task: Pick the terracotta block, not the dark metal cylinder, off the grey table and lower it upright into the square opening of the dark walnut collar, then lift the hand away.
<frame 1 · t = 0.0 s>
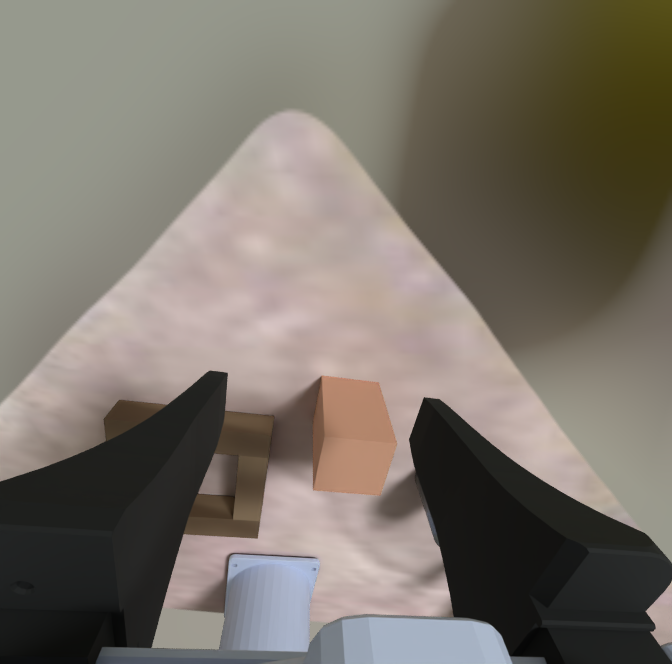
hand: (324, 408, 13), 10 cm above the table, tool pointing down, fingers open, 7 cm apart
terracotta block: (345, 402, 25), on the table
walnut collar: (197, 463, 27), on the table
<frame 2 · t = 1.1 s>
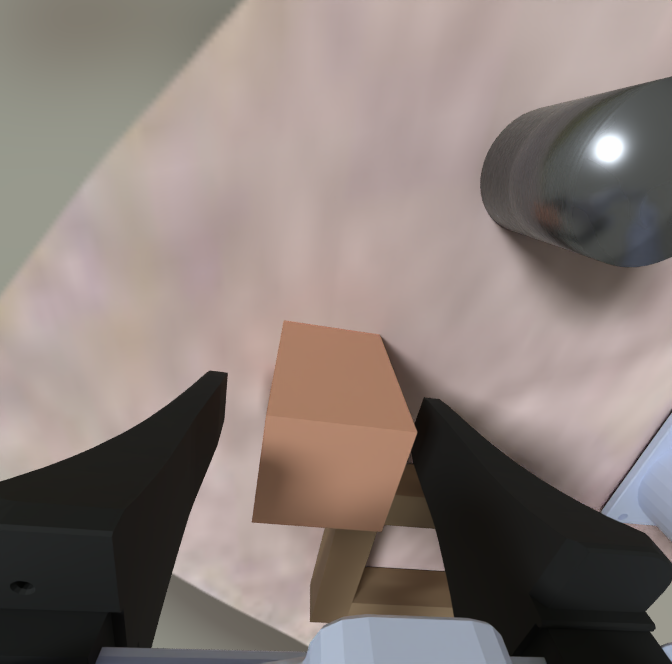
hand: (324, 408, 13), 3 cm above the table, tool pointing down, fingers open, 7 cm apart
metal cylinder: (536, 173, 13), on the table
terracotta block: (324, 368, 15), on the table
walnut collar: (414, 534, 20), on the table
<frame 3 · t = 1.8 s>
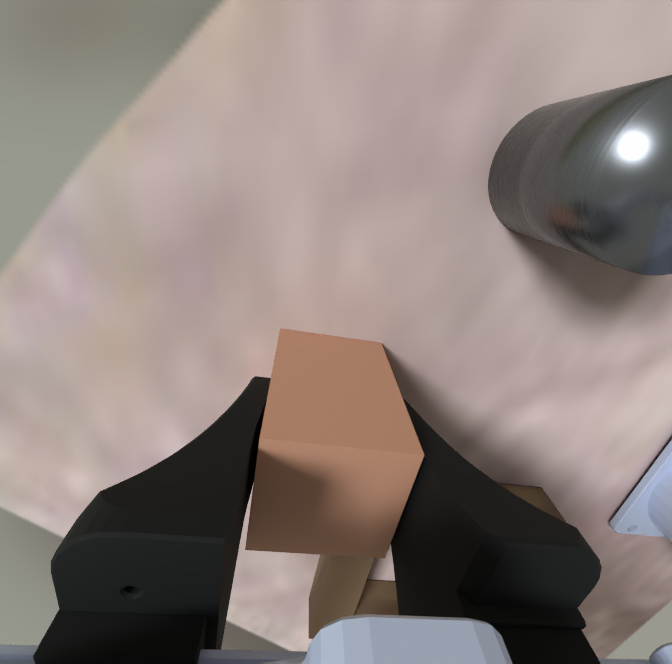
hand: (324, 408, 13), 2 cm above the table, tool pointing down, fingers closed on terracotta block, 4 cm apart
metal cylinder: (548, 173, 12), on the table
terracotta block: (323, 379, 15), on the table, touching gripper
walnut collar: (416, 546, 20), on the table
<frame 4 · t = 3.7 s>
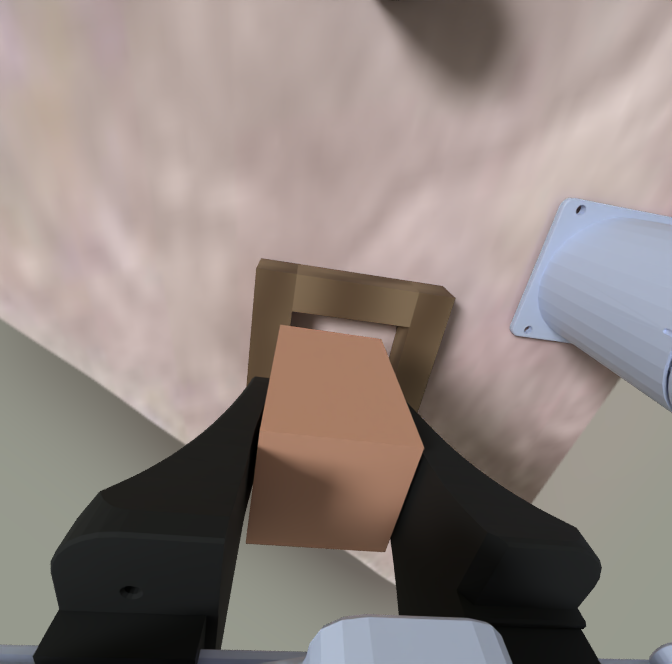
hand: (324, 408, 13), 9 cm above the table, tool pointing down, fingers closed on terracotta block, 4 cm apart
terracotta block: (323, 375, 15), point 7 cm above the table, touching gripper
walnut collar: (338, 353, 22), on the table
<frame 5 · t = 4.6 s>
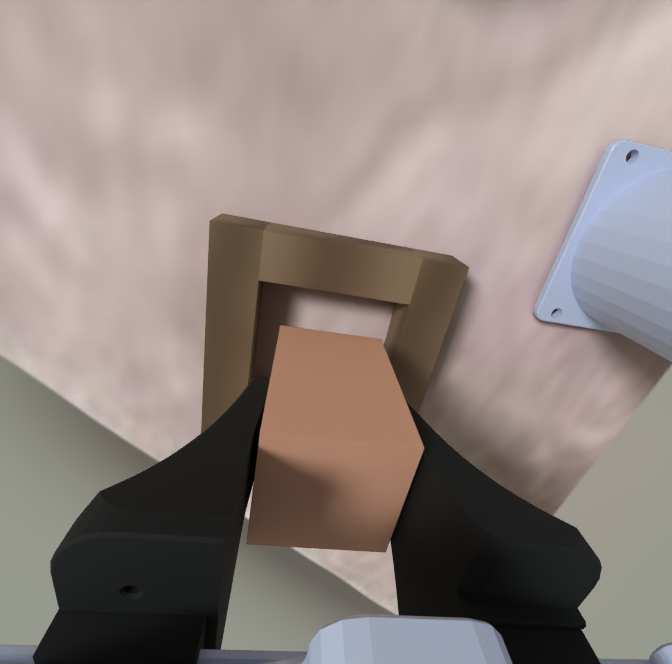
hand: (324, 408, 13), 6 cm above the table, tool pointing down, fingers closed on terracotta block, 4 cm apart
terracotta block: (323, 375, 15), point 4 cm above the table, touching gripper
walnut collar: (322, 339, 18), on the table
when the fingers open (3 cm above the table, at t = 5.5 s): terracotta block stays where it is, resting in walnut collar.
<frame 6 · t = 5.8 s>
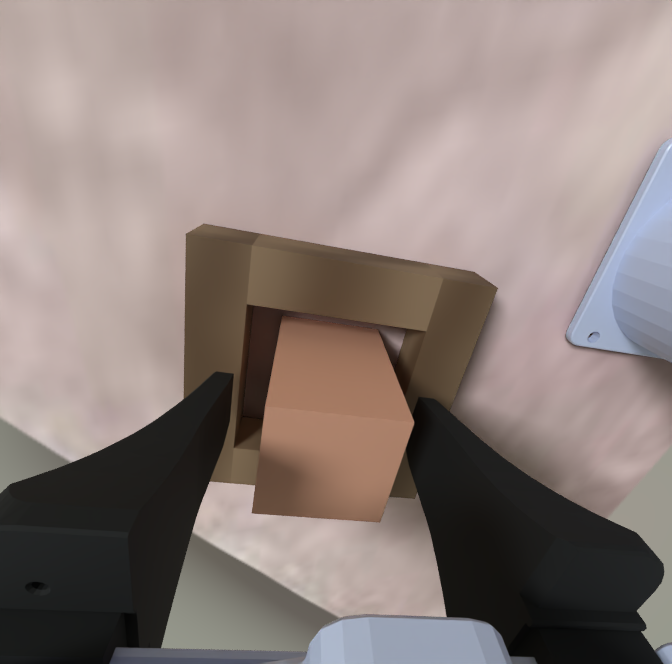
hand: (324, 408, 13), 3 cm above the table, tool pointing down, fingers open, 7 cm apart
terracotta block: (322, 363, 16), resting in walnut collar
walnut collar: (322, 366, 16), on the table
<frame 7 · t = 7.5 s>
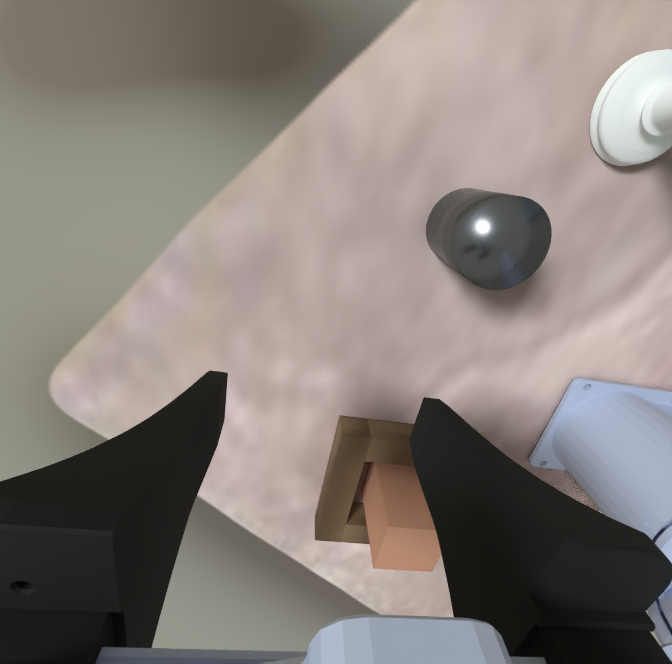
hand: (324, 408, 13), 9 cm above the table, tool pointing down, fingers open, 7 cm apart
chess piece: (635, 112, 18), on the table
metal cylinder: (461, 226, 20), on the table
terracotta block: (392, 474, 28), resting in walnut collar
walnut collar: (392, 476, 28), on the table
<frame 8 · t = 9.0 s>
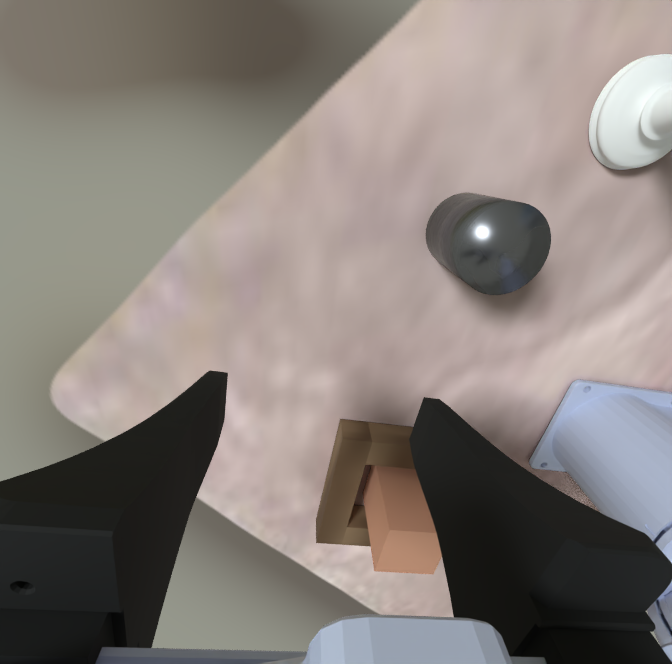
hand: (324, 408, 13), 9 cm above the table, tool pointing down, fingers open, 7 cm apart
chess piece: (633, 116, 18), on the table
metal cylinder: (461, 231, 20), on the table
terracotta block: (393, 477, 28), resting in walnut collar
walnut collar: (392, 479, 28), on the table
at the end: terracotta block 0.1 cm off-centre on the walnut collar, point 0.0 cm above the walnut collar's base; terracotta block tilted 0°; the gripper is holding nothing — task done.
